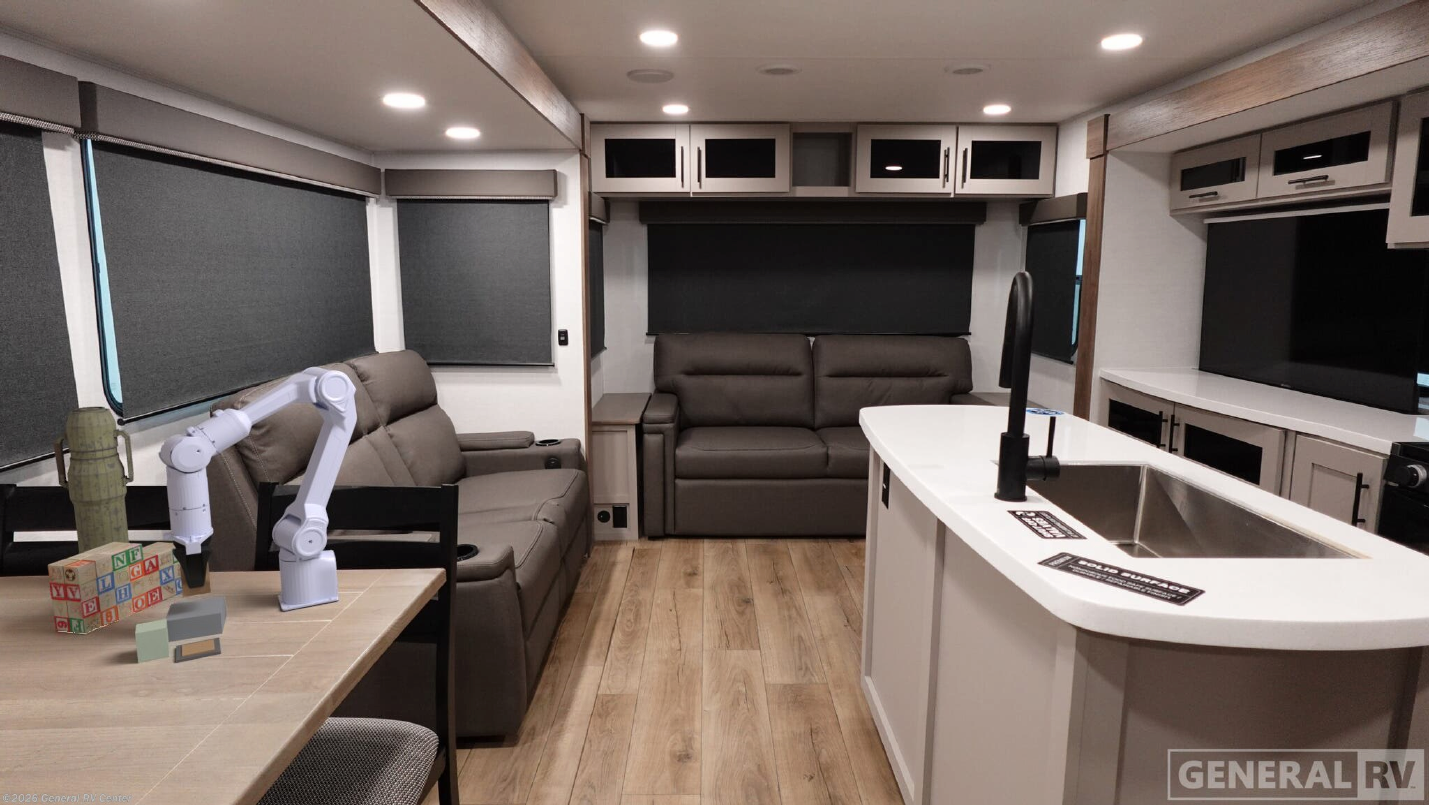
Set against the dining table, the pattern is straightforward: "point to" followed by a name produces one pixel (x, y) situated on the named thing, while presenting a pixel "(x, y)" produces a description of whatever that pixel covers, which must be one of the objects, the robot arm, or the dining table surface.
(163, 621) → the sage green block
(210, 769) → the dining table surface
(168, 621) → the slate base block
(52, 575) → the stack of blocks
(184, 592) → the walnut block
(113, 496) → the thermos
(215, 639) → the card
